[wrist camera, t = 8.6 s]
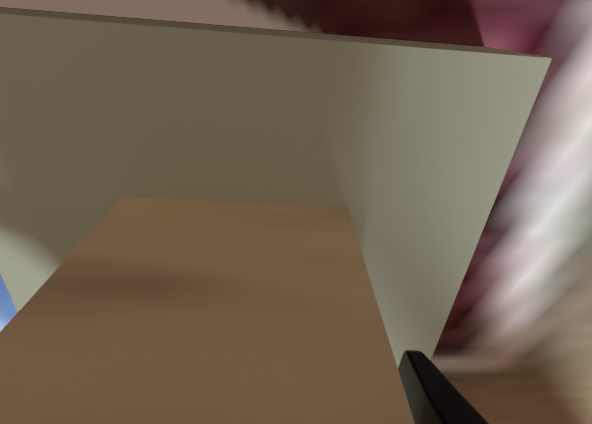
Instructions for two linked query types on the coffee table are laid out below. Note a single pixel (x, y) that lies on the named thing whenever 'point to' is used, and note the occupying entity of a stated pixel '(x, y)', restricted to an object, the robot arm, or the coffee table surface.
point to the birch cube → (205, 323)
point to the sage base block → (259, 140)
